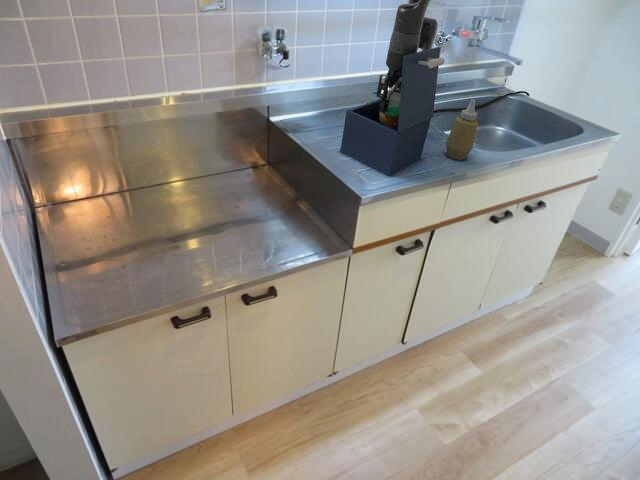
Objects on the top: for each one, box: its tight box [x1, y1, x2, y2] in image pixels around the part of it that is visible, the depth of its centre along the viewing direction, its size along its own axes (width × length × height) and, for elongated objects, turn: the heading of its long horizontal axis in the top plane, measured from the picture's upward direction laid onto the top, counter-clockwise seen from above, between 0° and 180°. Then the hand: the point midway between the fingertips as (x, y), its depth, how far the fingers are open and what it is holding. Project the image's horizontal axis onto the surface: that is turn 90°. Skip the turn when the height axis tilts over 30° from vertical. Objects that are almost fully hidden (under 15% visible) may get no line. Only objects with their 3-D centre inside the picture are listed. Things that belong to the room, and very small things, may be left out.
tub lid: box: [398, 46, 445, 132], centre depth 123 cm, size 19×17×5 cm
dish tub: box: [339, 98, 432, 176], centre depth 138 cm, size 18×17×13 cm
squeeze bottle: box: [445, 99, 479, 161], centre depth 142 cm, size 8×8×18 cm
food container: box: [379, 85, 401, 128], centre depth 132 cm, size 12×6×10 cm, turn 25°
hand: (390, 108), depth 133 cm, fingers closed on food container, 7 cm apart
